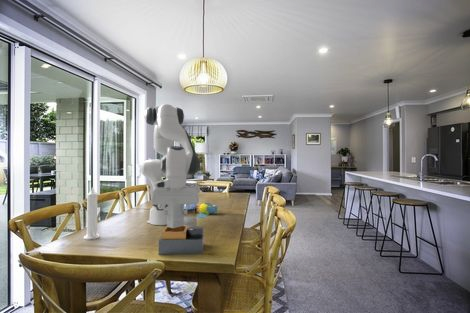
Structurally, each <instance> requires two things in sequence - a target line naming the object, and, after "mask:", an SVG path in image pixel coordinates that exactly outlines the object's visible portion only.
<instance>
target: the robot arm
mask: <svg viewBox="0 0 470 313" xmlns="http://www.w3.org/2000/svg"><path fill="white" fill-rule="evenodd" d="M143 115H144V120H145V122H146V124H148V125H150V126H154V128H153V150H154V151H155V152H156V153H158V154H160V155H161V156H162V157H160V158H158V159H156V158H154V159H153V158H151V159H148V160H144V161H143V162H142V163H141V165H140V166H141V167H140V171H141V174H142V175H143V176H144V177H145V178H147V179H148V181H149V182H150V184H151V185H152V194H151V203H152V207H151V208H150V210H149V219H148V220H146V223H147V224H151V225H153V226H167V215H168V205H169V200H178V204H184V205H186V206H185V207H186V209H184V216H185V215H188V210H189V209H190V207H191V205H199V204H200V195H199V193H200V191H201V186H200V185H199V184H198V183H196V182H187V175H188V176H189V175H190V176H195V174H197V173H198V172H199V171H200V169H201V161H200V160H201V159H200V158H199V156H198V153H196V149H195V147H194V145H193V142H192V140H191V137H190V134H189V132H188V131H187V129H185V128H184V127H183V126H182V124H183V122H184V120H185V112H184V110H183V109H182V108H181V107H174V106H173V105H171V104H167V103H166V104H161V106H154V105H153V106H152V105H151V106H147V107H146V108H145V111H144V114H143ZM173 142H176V143H178V144H180V145H181V146H178V145H173ZM162 178H165V179H162Z"/></svg>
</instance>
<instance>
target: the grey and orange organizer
mask: <svg viewBox="0 0 470 313" xmlns="http://www.w3.org/2000/svg"><path fill="white" fill-rule="evenodd" d="M204 232H205V231H204V227H202V226H197V225H194V226H189V225H184V226H181V227H177V228H170V227H167V225H165V227H164V228H163V229H162V232H161V235H160V237H159V239H158V255H160V256H161V255H163V256H164V255H203V251H204V250H203V249H204V242H205V240H204V239H205V238H204V235H205V233H204Z"/></svg>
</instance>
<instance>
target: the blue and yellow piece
mask: <svg viewBox="0 0 470 313" xmlns="http://www.w3.org/2000/svg"><path fill="white" fill-rule="evenodd" d="M195 207H196V211H199V214H198V215H197V216H196V217H195V219H198V218H203V220H204V218H205V217H206V216H207V215H208V216H209V215H210V214H214V213H218V211H219V210H218V209H219V208H218V205H216V204H212V203H209V202H204V203H201V204H195ZM208 216H207V217H208ZM207 217H206V218H207ZM206 218H205V219H206Z"/></svg>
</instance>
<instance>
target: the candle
mask: <svg viewBox="0 0 470 313" xmlns="http://www.w3.org/2000/svg"><path fill="white" fill-rule="evenodd" d="M86 195H87V196H86V235H84V236H83V240H85V241H86V240H95V239H99V238H100V236H101V235H100V234H99V233H98V196H99V195H98V192H96V191H95V189H94V187H91V190H90V191H89V193H87V194H86Z"/></svg>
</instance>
